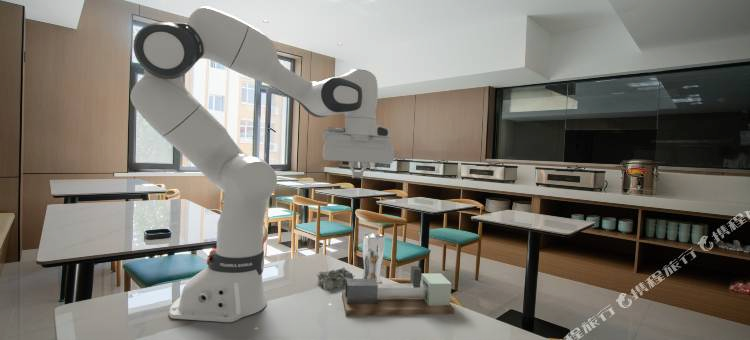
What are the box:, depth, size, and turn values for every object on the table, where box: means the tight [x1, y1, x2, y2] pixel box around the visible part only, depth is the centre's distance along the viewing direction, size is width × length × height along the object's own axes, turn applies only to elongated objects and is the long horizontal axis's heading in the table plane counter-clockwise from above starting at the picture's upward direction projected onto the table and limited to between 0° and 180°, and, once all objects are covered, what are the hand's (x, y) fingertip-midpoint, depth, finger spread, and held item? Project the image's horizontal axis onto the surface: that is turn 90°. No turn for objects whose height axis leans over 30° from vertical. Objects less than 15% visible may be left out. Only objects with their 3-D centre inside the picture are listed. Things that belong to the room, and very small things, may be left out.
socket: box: [420, 272, 452, 306], centre depth 102 cm, size 6×8×8 cm
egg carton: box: [316, 267, 356, 290], centre depth 114 cm, size 11×8×4 cm
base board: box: [341, 291, 455, 317], centre depth 100 cm, size 29×12×2 cm, turn 100°
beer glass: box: [361, 232, 385, 284], centre depth 117 cm, size 7×7×15 cm
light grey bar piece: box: [377, 265, 428, 299], centre depth 100 cm, size 21×3×8 cm, turn 100°
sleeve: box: [344, 278, 378, 304], centre depth 99 cm, size 8×5×5 cm, turn 100°
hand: (357, 178), depth 103 cm, fingers closed
